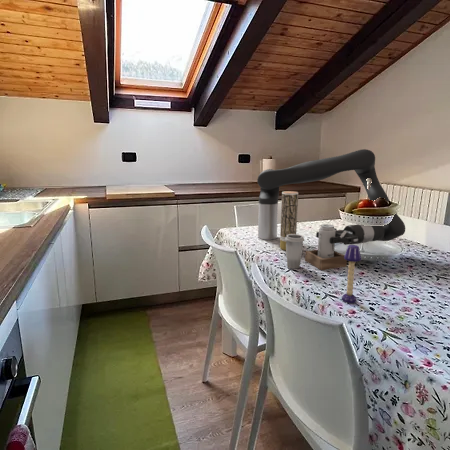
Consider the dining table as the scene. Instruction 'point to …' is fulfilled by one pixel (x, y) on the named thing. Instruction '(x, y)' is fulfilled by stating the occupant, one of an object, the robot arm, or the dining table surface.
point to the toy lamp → (351, 271)
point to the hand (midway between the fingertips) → (323, 237)
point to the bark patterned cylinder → (288, 216)
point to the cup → (294, 250)
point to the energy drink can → (326, 241)
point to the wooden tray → (325, 260)
